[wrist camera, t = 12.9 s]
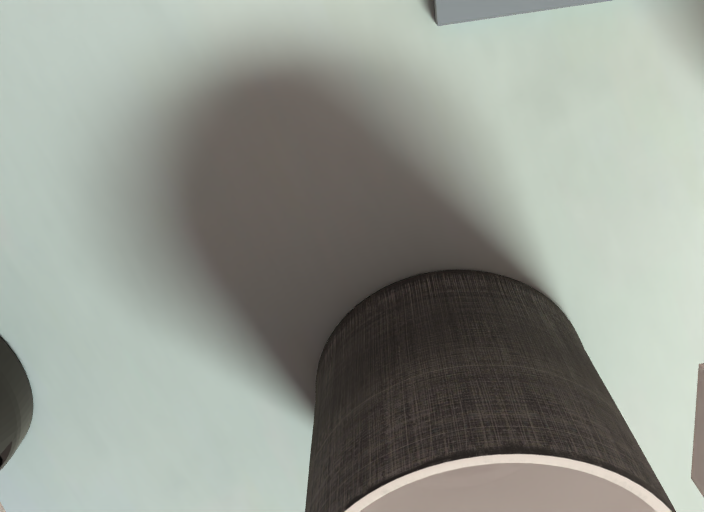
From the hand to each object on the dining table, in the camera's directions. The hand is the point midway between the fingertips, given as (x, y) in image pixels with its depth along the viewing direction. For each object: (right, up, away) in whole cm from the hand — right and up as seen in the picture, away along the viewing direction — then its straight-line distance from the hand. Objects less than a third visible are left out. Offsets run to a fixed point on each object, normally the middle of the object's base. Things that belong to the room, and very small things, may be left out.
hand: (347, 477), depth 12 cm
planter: (+7, -4, +32) cm, 32 cm away
